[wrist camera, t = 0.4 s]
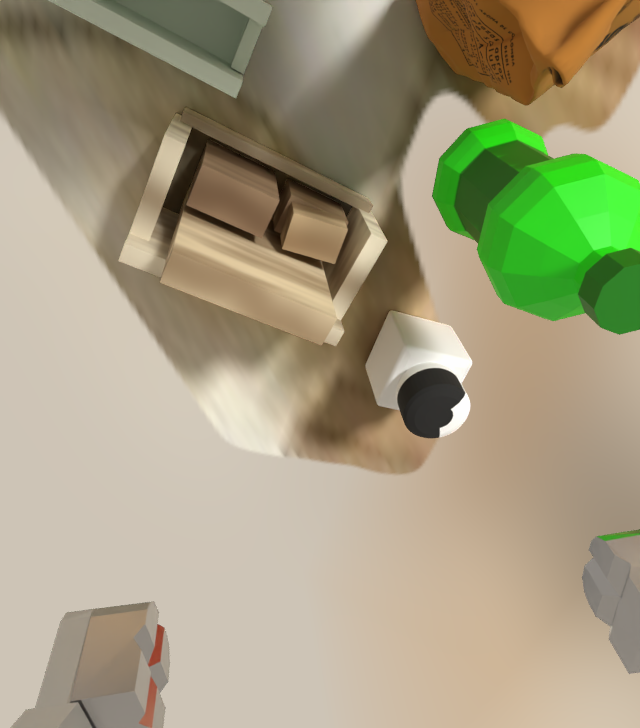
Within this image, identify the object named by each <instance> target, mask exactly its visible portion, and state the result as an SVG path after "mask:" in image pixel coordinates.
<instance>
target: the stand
mask: <svg viewBox="0 0 640 728" xmlns="http://www.w3.org/2000/svg"><path fill="white" fill-rule="evenodd" d="M48 1H50V2H52V3H53V4H55V5H57V6H59V7H61V8H63V9H65V10H67V11H69V12H71V13H73V14H75V15H76V16H78V17H80V18H82V19H84V20H86V21H88V22H90V23H92V24H94V25H96V26H98V27H100V28H101V29H103V30H105V31H107V32H109V33H111V34H113V35H115V36H117V37H119V38H121V39H123V40H124V41H126V42H128V43H130V44H132V45H134V46H136V47H138V48H140V49H142V50H144V51H146V52H147V53H149V54H151V55H153V56H155V57H157V58H159V59H161V60H163V61H165V62H167V63H169V64H170V65H172V66H174V67H176V68H178V69H180V70H182V71H184V72H186V73H188V74H190V75H192V76H193V77H195V78H197V79H199V80H201V81H203V82H205V83H207V84H209V85H211V86H213V87H215V88H216V89H218V90H220V91H222V92H224V93H226V94H228V95H230V96H232V97H234V98H237V95H238V93H239V90H240V88H241V85H242V83H243V74H244V72H245V70H246V67H247V65H248V62H249V60H250V57H251V55H252V52H253V50H254V47H255V45H256V42H257V40H258V38H259V35H260V33H261V30H262V28H263V26H266V23H267V21H268V19H269V16H270V14H271V11H272V9H273V7H272V6H271V5H270V4H268V3H266V2H265V1H263V0H48Z"/></svg>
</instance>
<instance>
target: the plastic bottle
mask: <svg viewBox="0 0 640 728" xmlns="http://www.w3.org/2000/svg"><path fill="white" fill-rule="evenodd" d="M432 197H433V199H434V201H435V203H436V205H437V207H438V209H439V211H440V213H441V215H442V217H443V219H444V221H445V224H446V226H447V227H448V228H449V229H450V230H451V231H453V232H456V233H458V234H461V235H463V236H466V237H468V238H471V239H473V240H475V241H476V242H477V243H478V247H477V251H478V254H479V258H480V260H481V262H482V264H483V266H484V268H485V270H486V273H487V275H488V277H489V279H490V281H491V283H492V285H493V287H494V289H495V292H496V294H497V295H498V297H499V298H500V299H501V300H502V302H503V303H504V304H507V305H510V306H512V307H515V308H517V309H520V310H523V311H526V312H528V313H531V314H534V315H536V316H539V317H542V318H545V319H548V320H552V321H556V320H559V319H563V318H567V317H572V316H576V315H580V314H584V313H586V314H587V315H588V316H589V317H590V318H591V319H592V320H593V321H595V323H596V324H598V325H599V326H600V327H601V328H604V329H606V330H609V331H611V332H614V333H617V334H623V333H628V332H631V331H636V330H639V329H640V183H639V181H638V180H637V179H635V178H633V177H631V176H629V175H627V174H625V173H623V172H621V171H619V170H617V169H615V168H613V167H611V166H608V165H607V164H604V163H603V162H600V161H598V160H596V159H594V158H592V157H590V156H588V155H586V154H571V155H567V156H563V157H559V158H555V159H553V158H551V157H550V156H548V153H547V150H546V147H545V145H544V142H543V139H542V137H541V136H539V135H537V134H535V133H533V132H531V131H529V130H527V129H525V128H523V127H521V126H519V125H517V124H515V123H513V122H511V121H509V120H506V119H502V120H498V121H494V122H490V123H486V124H483V125H479V126H475V127H471V128H468V129H466V130H465V131H464V132H463V133H462V134H461V135H460V136H459V137H458V139H457V140H456V141H455V142H454V143H453V144H452V145H451V146H450V147H449V148H448V149H447V150H446V152H445V153H444V154H443V155H442V156H441V157H440V159H439V163H438V168H437V174H436V179H435V184H434V190H433V195H432Z"/></svg>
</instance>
